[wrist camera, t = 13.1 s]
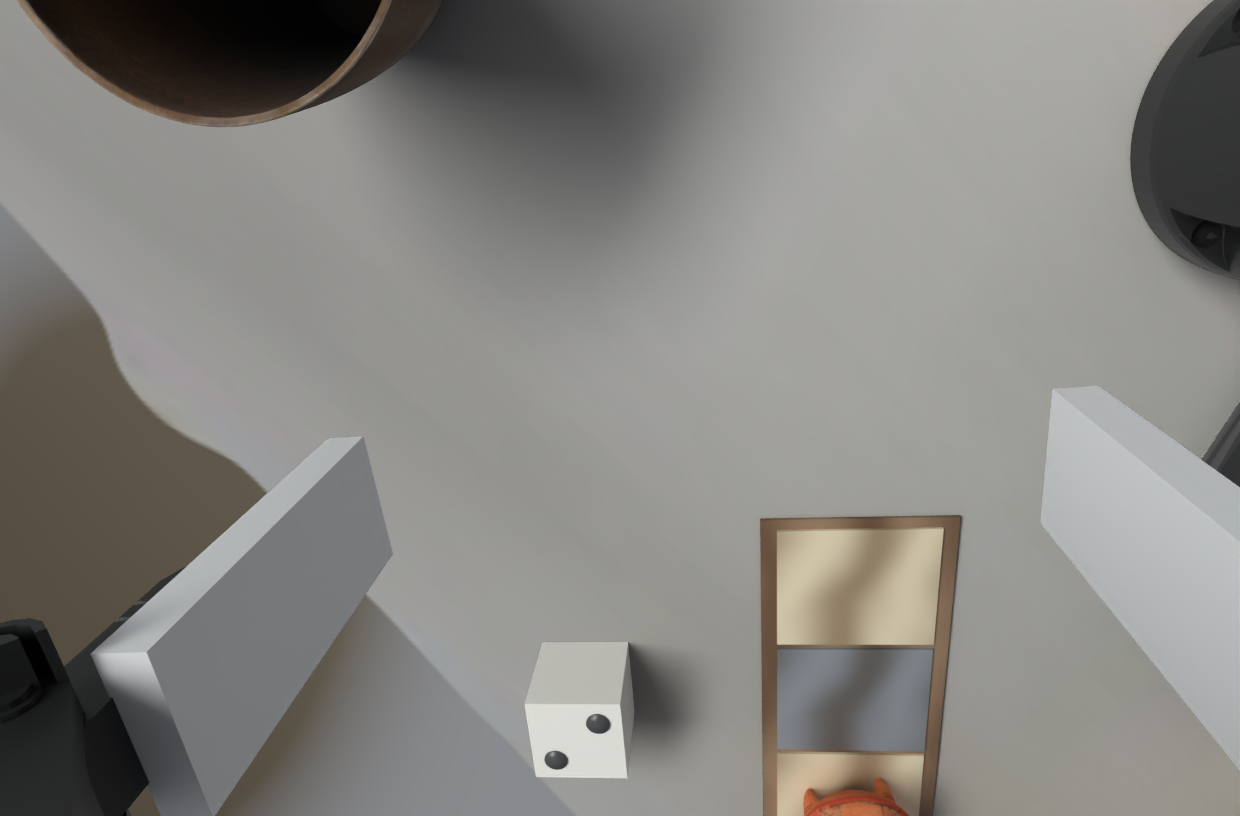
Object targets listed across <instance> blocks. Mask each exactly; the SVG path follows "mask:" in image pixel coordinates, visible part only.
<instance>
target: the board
mask: <svg viewBox="0 0 1240 816" xmlns="http://www.w3.org/2000/svg"><path fill="white" fill-rule="evenodd" d="M960 521H961V516H960V515H954V516H896V517H837V518H779V519H760V536H761V634H762V732H763V816H804V807H803V801H804V794H805V792H806V790H807V789H811V790H812V792H813V794H814V796H815V797H816V798H817V799H818V800H819V801H821V800H822V799H823V798H825V797H826V796H828V795H830V794H832V793H835V792H838V791H843V790H862V791H868V792H872V793H874V790H875V779H876V778H880V779H882V780H883V782H884V783H885V784H886V785H887V786H888V788H889V790H890V791H891V794H892V796H893V798H894V800H895V803H896V805H897V806H899V807H900V808H902V809H903V810H904V811H905V812H906V813H907V814H908V815H909V816H932V814H933V804H934V793H935V783H936V772H937V762H938V751H939V741H940V730H941V720H942V709H943V699H944V688H945V678H946V667H947V657H948V647H949V636H950V626H951V615H952V605H953V594H954V584H955V573H956V563H957V552H958V542H959V531H960Z"/></svg>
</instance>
